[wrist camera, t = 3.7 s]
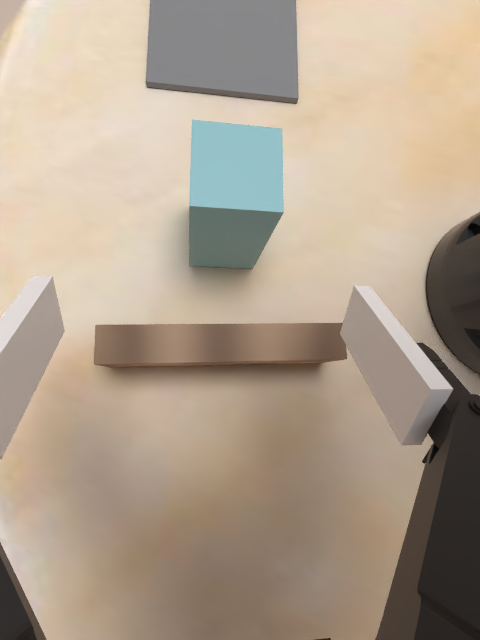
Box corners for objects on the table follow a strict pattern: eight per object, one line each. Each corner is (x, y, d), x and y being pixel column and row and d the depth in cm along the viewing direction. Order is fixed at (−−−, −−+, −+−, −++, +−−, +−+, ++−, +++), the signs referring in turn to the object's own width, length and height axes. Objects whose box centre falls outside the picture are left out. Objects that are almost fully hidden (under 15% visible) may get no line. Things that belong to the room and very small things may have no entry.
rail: (318, 333, 29) (344, 323, 24) (320, 362, 29) (347, 359, 24) (112, 335, 27) (95, 324, 22) (111, 367, 27) (94, 364, 22)
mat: (292, -60, 35) (294, -68, 35) (296, 103, 32) (298, 98, 32) (156, -84, 34) (155, -92, 33) (146, 87, 31) (145, 81, 30)
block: (252, 210, 30) (282, 128, 20) (252, 269, 29) (283, 212, 20) (191, 206, 29) (191, 119, 20) (189, 266, 29) (189, 205, 19)
